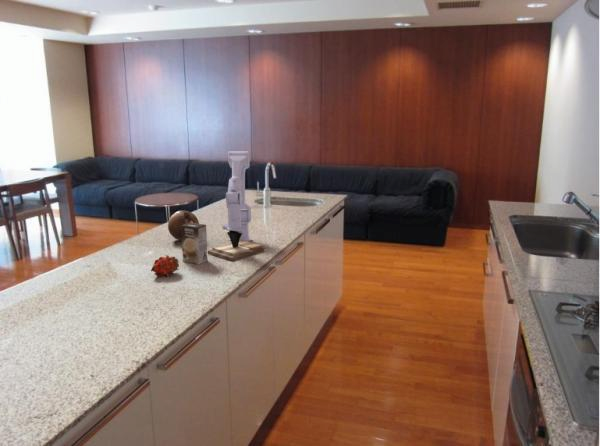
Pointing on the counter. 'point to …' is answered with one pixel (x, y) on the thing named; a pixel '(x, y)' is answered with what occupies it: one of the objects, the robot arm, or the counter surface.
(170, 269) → the dragon fruit
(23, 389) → the counter surface
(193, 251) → the coffee box
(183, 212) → the wooden sphere
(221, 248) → the oak plank
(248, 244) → the board
